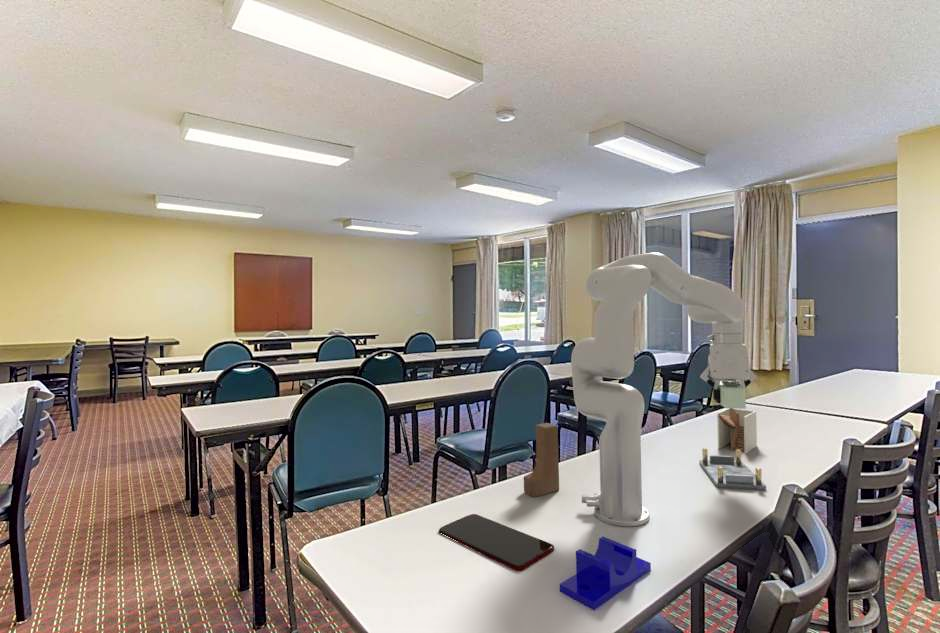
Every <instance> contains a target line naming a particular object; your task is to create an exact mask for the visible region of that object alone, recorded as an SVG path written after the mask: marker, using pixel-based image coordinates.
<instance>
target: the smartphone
mask: <svg viewBox="0 0 940 633" xmlns="http://www.w3.org/2000/svg"><path fill="white" fill-rule="evenodd" d="M438 532H439V533H442V534H444V535H446V536H448V537H450V538H452V539H454V540H456V541H458V542H460V543H462V544H464V545H466V546H468V547H470V548H472V549H474V550H475V552H476V551H477V552H476V553H478V552H480V553H482V554H481V555H483V556H485V557H487V558H489V559H491V560H493V561H495V562H498V563H500V564H501V565H503V564H504V566H506V567H507V568H509V569H512V570H514V571H517V572H522V571H524V570H526V569H527V568H529V567H531V566H532V565H533V564H536V563H537V562H538V560H539V561H540V560H542V559H543V558H545V557H547V556H548V555H550V554H551V553H553V552H554V551H555V545H554V544H552V543H551V542H547V541H545V540H543V539H540V538H538V537H534V536H532V535H530V534H528V533H525V532H522V531H519V530H517V529H515V528H512V527H510V526H507V525H505V524H502V523H500V522H497V521H494V520H492V519H489V518H487V517H484V516H482V515H480V514H477V513H471V514H468V515H465V516H463V517H461V518H459V519H457V520H455V521H451V522H449V523H448V524H445V525H443V526H441V527H440V528H439V529H438ZM439 533H438V534H439ZM450 538H449V539H450ZM452 539H451V540H452ZM454 540H453V541H454ZM456 541H455V542H456ZM458 542H457V543H458ZM460 543H459V544H460ZM462 544H461V545H462ZM464 545H463V546H464ZM466 546H465V547H466ZM468 547H467V548H468ZM470 548H469V549H470ZM472 549H471V550H472ZM474 550H473V551H474ZM480 553H479V554H480ZM530 565H531V566H530Z"/></svg>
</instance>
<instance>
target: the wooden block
mask: <svg viewBox="0 0 940 633" xmlns="http://www.w3.org/2000/svg"><path fill="white" fill-rule="evenodd" d="M558 427H559V426H558V425H556V424H553V423H549V422H543V423H539V424H535V449H536V450H535V451H536V454H535V456H536V461H535V467H534V468H533V470H532V472H531V473H528V474H526V475H524V476H523V493H525V494H527V495H529V496H531V497H532V498H536V497H539V496H543V495H547V494H551V493H554V492H559V491H560V467H559V432H558V431H559V430H558Z"/></svg>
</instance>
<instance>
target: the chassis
mask: <svg viewBox="0 0 940 633" xmlns="http://www.w3.org/2000/svg"><path fill="white" fill-rule="evenodd" d="M735 450H736V451H735V456H733V455H718V454H717V455H716V454H713V455H712V454H709V457H708V448H704V447H703V448H702V450H701V451H702V459H701V460H698V461H699V465H700V467H701V468H702V470H703V471H704V472H705V473H706V475H707V477H708V478H709V479H710V480H711V482H712V483H713V484H714V485H715V487H716V488H717V489H731V490H732V489H733V490H734V489H737V490H755V491H767V485H766V484H765V483H764V482H763V480H762V468H760V467H755V471H754V472H755V473H754V472H753V471H752V470H751V469H750V468H749V467H748V466H747V465H746V464H745V463H743V461H742V452H741V451H742V450H739V449H735ZM708 458H709V460H708Z"/></svg>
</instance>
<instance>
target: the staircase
mask: <svg viewBox="0 0 940 633" xmlns="http://www.w3.org/2000/svg"><path fill="white" fill-rule="evenodd" d="M716 416H717V417H716V418H717V421H716V422H717V449H721V448H723V447H724V446H726V445H728V444H729V443H730V447H731V448H730V449H731V451H732V452H736V450H737V449H738V450H741V454H742V453H744V454H747V453H749V452H750V451H752V450H753V449H755V448H756V446H758V443H757V442H758V441H757V440H758V436H757V435H758V434H757V433H758V432H757V411H755V410H748V409H747V410H746V409H735V408H725V409H724V410H721V411H719V412H717V415H716Z"/></svg>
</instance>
